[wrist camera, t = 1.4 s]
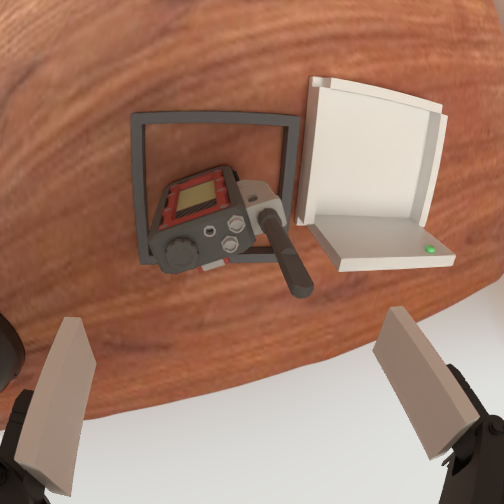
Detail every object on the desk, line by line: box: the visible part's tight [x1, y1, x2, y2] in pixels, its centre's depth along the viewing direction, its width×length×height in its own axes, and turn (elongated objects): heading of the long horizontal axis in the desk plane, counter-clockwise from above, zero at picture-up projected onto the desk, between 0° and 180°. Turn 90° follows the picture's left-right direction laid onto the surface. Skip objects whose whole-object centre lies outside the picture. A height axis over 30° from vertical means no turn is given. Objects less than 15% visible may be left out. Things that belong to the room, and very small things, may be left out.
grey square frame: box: [131, 111, 300, 265], centre depth 30 cm, size 15×15×2 cm
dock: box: [294, 76, 456, 272], centre depth 27 cm, size 15×15×10 cm
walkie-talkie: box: [147, 166, 314, 299], centre depth 22 cm, size 9×4×20 cm, turn 106°
